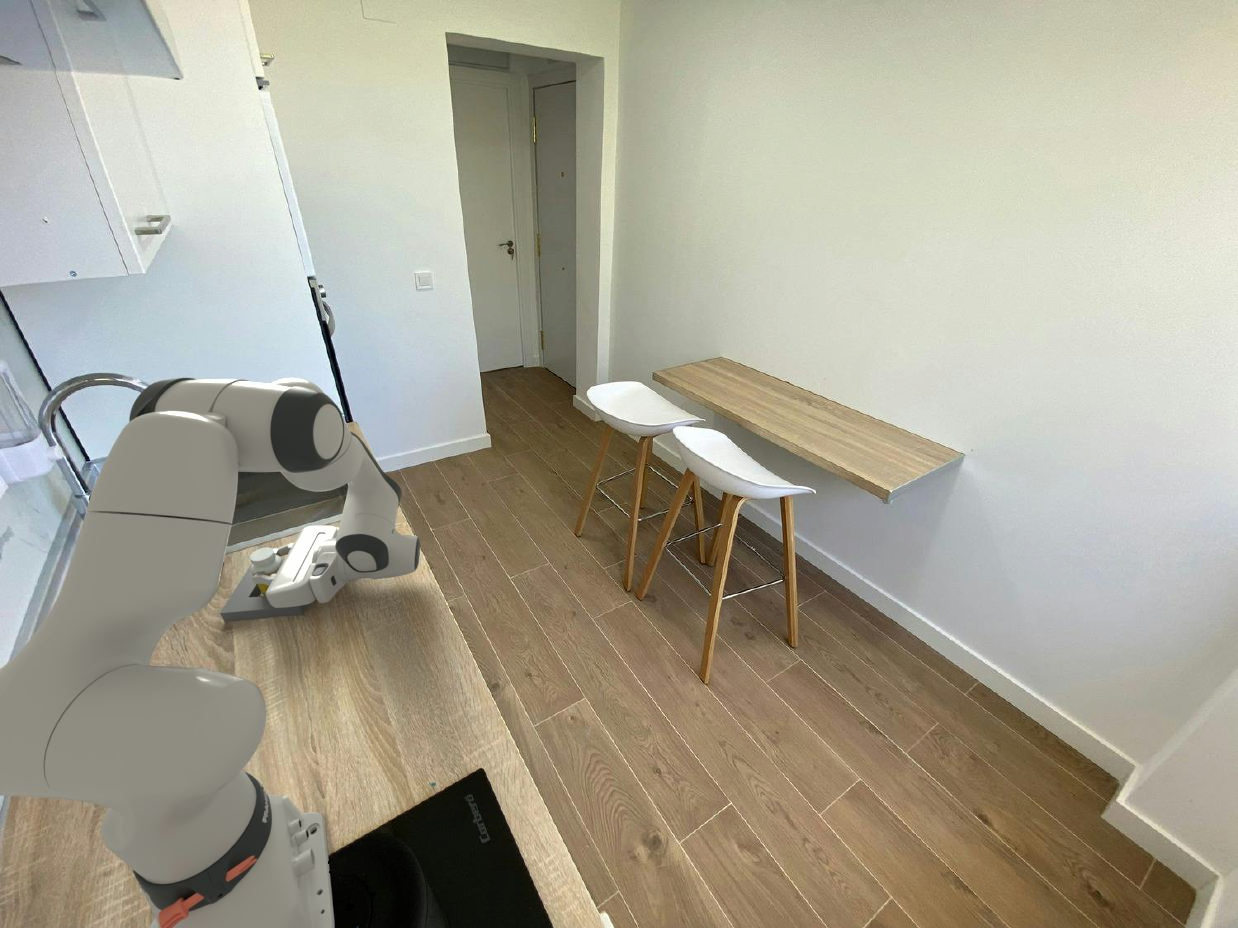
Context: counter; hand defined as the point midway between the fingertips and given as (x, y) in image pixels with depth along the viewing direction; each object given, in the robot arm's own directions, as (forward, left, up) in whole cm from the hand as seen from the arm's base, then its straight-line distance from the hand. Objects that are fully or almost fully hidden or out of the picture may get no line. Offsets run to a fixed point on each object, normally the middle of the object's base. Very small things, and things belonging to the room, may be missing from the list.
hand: (262, 565), depth 100 cm
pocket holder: (0, -1, -7) cm, 7 cm away
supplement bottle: (0, -1, -7) cm, 7 cm away
